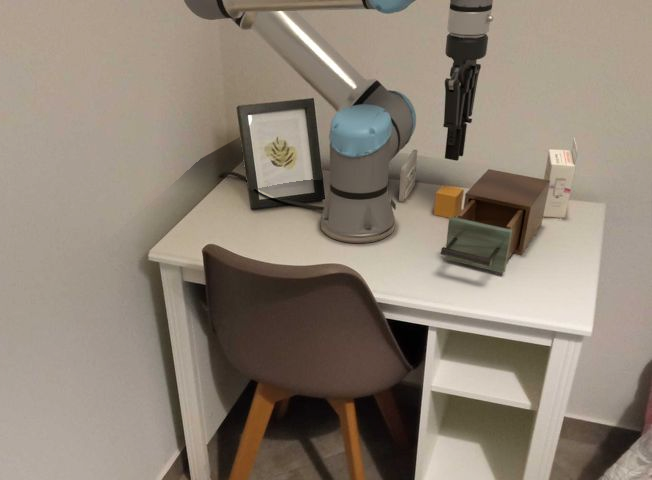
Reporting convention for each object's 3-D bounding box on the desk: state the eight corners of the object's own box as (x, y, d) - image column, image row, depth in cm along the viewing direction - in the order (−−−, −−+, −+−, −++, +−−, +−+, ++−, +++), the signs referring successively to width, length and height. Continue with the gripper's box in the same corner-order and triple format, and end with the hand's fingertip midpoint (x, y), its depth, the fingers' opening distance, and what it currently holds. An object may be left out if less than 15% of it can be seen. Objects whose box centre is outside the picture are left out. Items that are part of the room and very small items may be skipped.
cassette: (404, 202, 156) (407, 169, 151) (396, 201, 157) (398, 168, 152) (417, 181, 165) (419, 149, 160) (409, 180, 166) (411, 148, 161)
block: (433, 214, 151) (435, 192, 148) (441, 206, 154) (443, 184, 151) (453, 218, 149) (456, 196, 146) (461, 210, 152) (463, 188, 149)
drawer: (492, 289, 125) (499, 247, 120) (432, 273, 130) (436, 232, 125) (523, 244, 138) (530, 205, 133) (467, 231, 142) (472, 193, 138)
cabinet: (521, 255, 136) (530, 207, 130) (459, 240, 141) (465, 193, 135) (541, 226, 146) (550, 180, 140) (481, 214, 151) (488, 168, 145)
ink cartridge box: (538, 199, 156) (550, 134, 147) (561, 201, 155) (575, 135, 146) (540, 217, 149) (554, 149, 140) (565, 218, 148) (580, 150, 139)
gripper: (473, 45, 123) (458, 173, 137) (500, 27, 134) (484, 148, 148) (433, 40, 127) (422, 166, 141) (462, 23, 137) (450, 142, 151)
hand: (453, 156), depth 144 cm, fingers open, 2 cm apart
